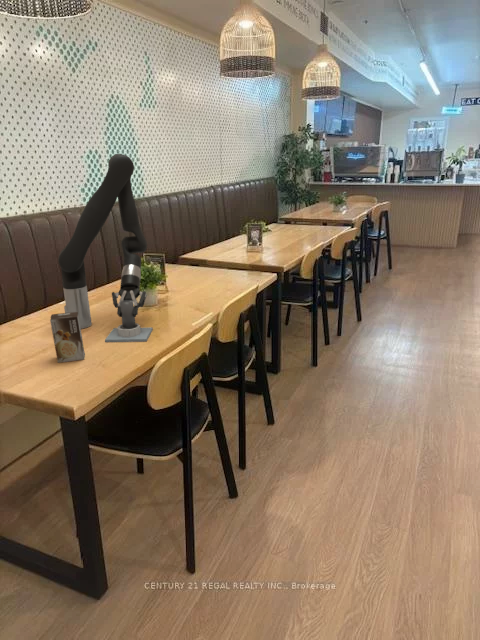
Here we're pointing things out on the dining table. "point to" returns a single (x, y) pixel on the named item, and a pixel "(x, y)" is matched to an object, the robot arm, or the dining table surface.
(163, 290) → the dining table surface
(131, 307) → the dark grey cylinder
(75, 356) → the coffee box
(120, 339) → the grey ring socket base
